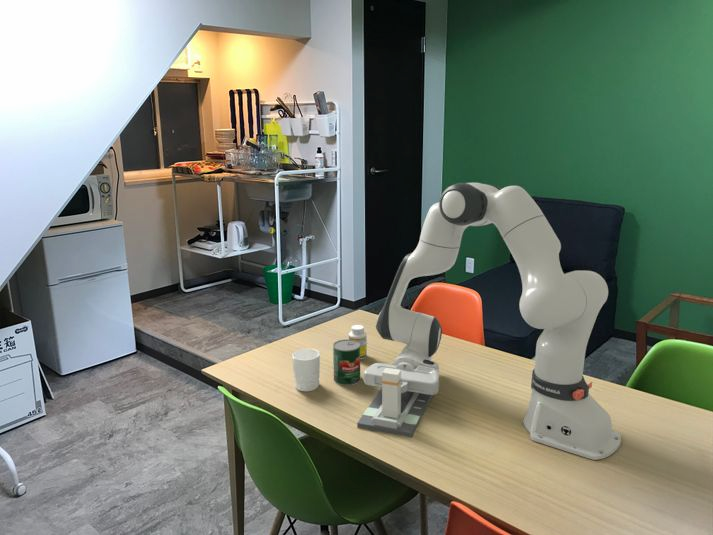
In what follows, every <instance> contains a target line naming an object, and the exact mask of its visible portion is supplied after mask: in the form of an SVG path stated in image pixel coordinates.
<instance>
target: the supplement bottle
mask: <svg viewBox="0 0 713 535" xmlns="http://www.w3.org/2000/svg"><path fill="white" fill-rule="evenodd" d="M348 339H349V340H355V341H357V342H359V343H360V359H361V360H364V359H365V358H367V350H368V349H367V348H368V347H367V346H368V345H367V344H368V343H367V333H366V331H365V327H364V326H363V325H361V324H355V325H351V328H350V332H348Z"/></svg>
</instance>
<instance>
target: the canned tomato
mask: <svg viewBox="0 0 713 535" xmlns="http://www.w3.org/2000/svg"><path fill="white" fill-rule="evenodd" d="M332 348H333V349H332V350H333V351H332V352H333V353H332V355H333V357H332V358H333V381H335V382H336V384H337V383H338V384H337V385H339V384H340V385H339V386H344V385H349V386H353V384H354V385H356V383H357V384H358V383H359V382H361V360H360V343H359V342H357V341H355V340H349V338H347V339H339V340H337V341H334V342H333V344H332ZM335 382H334V383H335Z"/></svg>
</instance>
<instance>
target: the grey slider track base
mask: <svg viewBox="0 0 713 535" xmlns="http://www.w3.org/2000/svg"><path fill="white" fill-rule="evenodd" d="M433 396H434V395H428V394H422V393H416V392H409V391H406V392H404V393H401V413H400V415H399V417H398V418H392V417H387V416H382V387H380V390H379V391H378V392H377V394H376V395H375V396H374V397H373V400H372V401H371V403H370V404H369V406H367V408H366V409H365V411H364V412H363V414H362V415H361V417H360V418H359V420H358V421H357V423H356V424H357V425H356V426H357V428H360V429H365V430H371V431H376V432H381V433H386V434H392V435H396V436H403V437H406V438H407V437H408V438H413V436H414V434H415V431H416V430H417V427H418V426H419V424H420V422H421V419H422V418H423V416H424V413H425V412H426V410H427V408H428V406H429V403H430V401H431V399H432V398H433Z"/></svg>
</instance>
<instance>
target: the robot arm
mask: <svg viewBox="0 0 713 535" xmlns="http://www.w3.org/2000/svg"><path fill="white" fill-rule="evenodd" d="M490 225H494V226H495V227H496V228H497V230H498V231H499V234H500V236H501V237H502V239H503V241H504V244H506V246H507V248H508V250H509V252H510V254H511V255H512V258H513V260H514V261H515V264H516V266H517V268H518V272H519V274H520V279H521V285H522V292H521V296H520V299H519V311H520V314H521V317H522V318H523V320H524V321H525V323H527V325H529V326H530V327H531V328H535V329H539V330H543V331H542V332H541V333H540V335H539V337H538V339H537V341H536V344H535V346H536V347H535V355H534V356H535V358H534V367H533V369H532V371H531V372H532V373H531V384H530V387H531V388H530V389H531V394H530V400H529V403H528V407H527V411H526V413H525V416H524V418H523V421H522V422H523V426H524V427H525V429H526V430H527V431H528V432H529V438H530V440H532V441H533V442H536V443H539V444H541V445H546V446H548V447H552V448H555V449H558V450H561V451H565V452H568V453H570V454H574V455H577V456H580V457H583V458H586V459H589V460H593V461H596V460H598V461H599V460H602V459H605V458H607V457H610V456H611V455H612V454H614V453H616V452H617V450H618V449H619V448H620V447H621V445H622V444H621V443H622V437H621V434H620V433H619V432H618V431H616V430H614V429H613V427H612V426H613V425H612V418H611V416H610V414H609V412H608V411H607V410H605V409H604V407H602V405H601V404H600V403H599V402H598V401H597V400H596V399H595V398H594V397H593V396H592V395H591V394H590V389H591V388H592V387H593V382H592V381H591V382H589V383H588V384H587V381H586V380H585V378H584V374H583V373H584V365H585V357H586V351H587V346H588V343H589V339H590V336H591V334H592V331H593V328H594V325H595V323H596V320H597V318H598V317H597V316H598V315H599V313H600V311H601V309H602V307H603V305H604V304H605V303H606V302H607V300H608V296H609V288H608V284H607V282H606V280H605V279H604V277H602V276H601V275H600V274H599V273H597V272H595V271H592V270H573V271H569V272H566V273H564V271H563V268H562V266H561V262H560V255H559V254H560V253H561V252H560V251H561V249H562V244H561V241H560V239H559V238H558V235H557V234H556V233H555V231H554V229H553V227H552V226H551V224H550V222H549V220H548V219H547V218H546V216H545V214H544V213H543V211H542V209H541V208H540V207H539V205H538V204H537V203H536V202H535V200H534V199H533V197H532V196H531V195H530V194H529V193H528V191H526V190H525V188H523V187H521V186H520V185H509V186H505V187H503V188H501V187H499V186H497V185H493V184H486V183H481V182H457V183H454V184H452V185H450V186H448V187H447V188H445V190H444V191H443V192H442V194H441V195H440V198H439V202H435V203H433V204H432V205H431V206H430V207H429V209H428V211H427V214H426V216H425V219H424V221H423V224H422V228H421V232H420V235H419V241H418V243H417V246H416V248H415V249H414V250H413V252H410V253H408V254H406V255H405V256H404V257H403V259H402V261H401V262H400V264H399V266H398V269H397V271H396V274H395V276H394V279H393V281H392V284H391V286H390V289H389V291H388V294H387V297H386V299H385V302H384V304H383V306H382V308H381V310H380V312H379V314H378V315H377V319H376V324H375V329H376V332H377V333H378V335H379V336H380V337H381V338H382V339H383V340H388V341H393V342H398V343H402V344H404V347H403V348H402V349H401V350H400V353H398V355H397V357H396V358H395V360H394V361H393V363H392V364H387V363H383V362H382V363H380V362H375V363H373V364H371V365H369V366H368V367H367V368H366V369H365V370H364V371H363V382H364V384H365V385H367V386H372V387H380V388H382V372H383V371H384V369H385V368H392V369H399V370H401V393H404V392H406V391H409V392H416V393H422V394H428V395H433V396H435V395H437V394H438V393H439V390H440V388H439V387H440V368H439V365H440V364H439V363H438V362H435V361H432V360H433V357H434V355H435V354H436V353H437V350H438V349H439V346H440V345H441V341H442V340H441V339H442V333H443V328H442V325H441V323H440V321H439V320H438V318H437V317H436V316H433V315H430V314H427V313H426V314H425V313H423V312H418V311H414V310H411V309H406V308H404V307H402V306H401V303H402V301H403V298H404V296H405V293H406V291H407V288H408V286H409V283H410V282H411V280H413V279H415V278H420V277H428V276H435V275H440V274H443V273H445V272H447V271H449V270H450V269H451V268H452V267H453V266H454V265H455V263H456V261H457V258H458V255H459V252H460V247H461V242H462V238H463V234H464V231H465V230H466V229H467V228H468V227H483V226H490Z"/></svg>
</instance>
